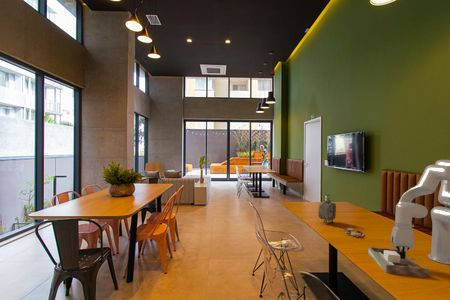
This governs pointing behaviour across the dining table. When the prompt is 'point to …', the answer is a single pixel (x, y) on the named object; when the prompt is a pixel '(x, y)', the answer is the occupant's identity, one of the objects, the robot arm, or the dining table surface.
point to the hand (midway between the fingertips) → (401, 258)
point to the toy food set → (354, 232)
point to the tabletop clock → (327, 210)
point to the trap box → (403, 267)
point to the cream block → (391, 256)
